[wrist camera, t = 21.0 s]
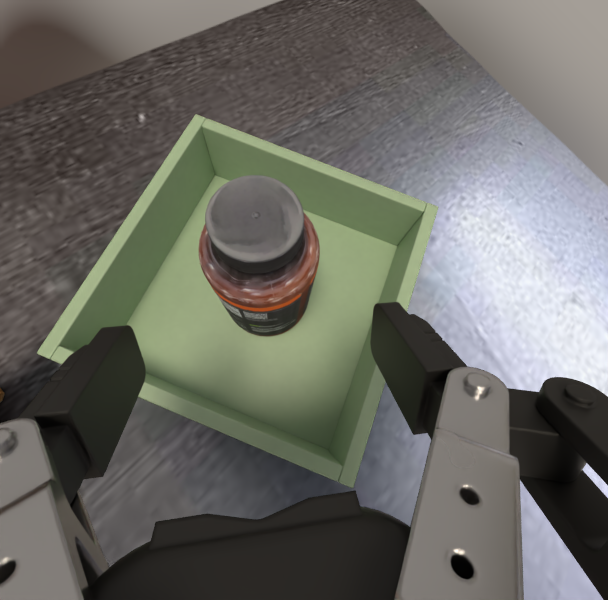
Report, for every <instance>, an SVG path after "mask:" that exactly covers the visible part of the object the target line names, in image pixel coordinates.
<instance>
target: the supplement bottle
mask: <svg viewBox="0 0 608 600" xmlns="http://www.w3.org/2000/svg"><path fill="white" fill-rule="evenodd" d="M198 250H199V260H200V265H201V268H202V271H203V273H204V275H205V277H206V279H207V281H208V282H209V283H210V285H211V287H212V289H213V290H214V292H215V293H216V295H217V296H218V298H219V299H220V301H221V302H222V304H223V305H224V307H225V309H226V310H227V312H228V313H229V315H230V316H231V318H232V319H233V320H234V322H235V323H236V324H237V325H238V326H239V327H241V328H242V329H243V330H245V331H247V332H248V333H251V334H254V335H258V336H267V337H268V336H276V335H279V334H283V333H285V332H287V331H288V330H290V329H291V328H293V327H294V326H295V325H296V324H297V323H298V322H299V321H300V319H301V318H302V316H303V315H304V313H305V311H306V309H307V305H308V302H309V298H310V294H311V291H312V287H313V283H314V280H315V276H316V273H317V268H318V264H319V257H320V245H319V239H318V235H317V232H316V230H315V228H314V225H313V224H312V222H311V221H310V219H309V217H308V216H307V215H306V214H305V213H304V212H303V208H302V205H301V203H300V201H299V199H298V197H297V195H296V194H295V193H294V192H293V191H292V190H291V189H290V188H289V187H288V186H287V185H285V184H284V183H282V182H280V181H279V180H277V179H274V178H271V177H267V176H263V175H248V176H242V177H238V178H236V179H233V180H231V181H229V182H227V183H225V184H224V185H223V186H221V187H220V188H219V189H218V190H217V191H216V192H215V194H214V195H213V196H212V197H211V199H210V201H209V203H208V205H207V209H206V212H205V225H204V227H203V230H202V232H201V236H200V239H199V249H198Z"/></svg>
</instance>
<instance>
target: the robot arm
mask: <svg viewBox="0 0 608 600" xmlns="http://www.w3.org/2000/svg"><path fill="white" fill-rule="evenodd" d="M370 345H371V352H372V356H373V358H374V360H375V362H376V364H377V366H378V368H379V370H380V372H381V374H382V376H383V377H384V379H385V381H386V383H387V385H388V387H389V389H390V391H391V393H392V395H393V397H394V398H395V400H396V402H397V404H398V406H399V408H400V410H401V412H402V414H403V416H404V418H405V419H406V421H407V423H408V425H409V427H410V429H411V431H412V433H413V435H415V434H422V433H428V435H429V436H430V438H431V443H430V447H429V451H428V456H427V460H426V464H425V468H424V472H423V476H422V480H421V485H420V489H419V493H418V497H417V501H416V505H415V509H414V513H413V517H412V521H411V526H410V527H409V526H408V525H406V524H405V523H404V522H402V521H400V520H398V519H396V518H395V517H393V516H391V515H388V514H386V513H383V512H381V511H378V510H374V509H371V508H367V507H360V505H359V501H358V498H357V494H356V491H350V492H344V493H337V494H331V495H324V496H318V497H312V498H308V499H305V500H303V501H301V502H299V503H296V504H294V505H292V506H290V507H288V508H285V509H283V510H281V511H279V512H276V513H274V514H272V515H270V516H267V517H265V518H263V519H258V520H253V519H245V518H237V517H229V516H221V515H213V514H202V515H196V516H190V517H183V518H177V519H170V520H164V521H158V522H156V523H155V527H154V531H153V535H152V538H151V541H150V542H148V543H146V544H144V545H142V546H140V547H138V548H137V549H135V550H133V551H131V552H130V553H128V554H127V555H125V556H124V557H122V558H121V559H120V560H118V561H117V562H116V563H114V564H113V565H112V566H111V567H109V565H108V563H107V561H106V559H105V557H104V555H103V552H102V550H101V547H100V544H99V542H98V539H97V536H96V534H95V531H94V528H93V526H92V523H91V520H90V518H89V515H88V512H87V510H86V507H85V504H84V502H83V499H82V496H81V495H80V493H79V491H78V489H79V487H80V485H81V483H82V481H83V479H89V478H96V477H103V476H104V473H105V471H106V469H107V466H108V464H109V462H110V460H111V457H112V455H113V453H114V450H115V448H116V446H117V443H118V441H119V439H120V437H121V434H122V432H123V430H124V427H125V425H126V423H127V421H128V418H129V416H130V414H131V411H132V409H133V407H134V405H135V402H136V400H137V398H138V395H139V393H140V391H141V389H142V386H143V384H144V381H145V376H146V369H145V363H144V360H143V357H142V354H141V351H140V348H139V345H138V342H137V339H136V336H135V333H134V331H133V329H132V327H131V326H129V325H125V326H114V327H103V328H101V329H100V330H99V332H98V333H97V334H96V335H95V337H94V338H93V339H92V341H91V342H90V343H89V344H88V345H84V346H82V347H81V348H80V349H78V350H77V351H75V352H74V353H73V354H71V355H70V356H69V357H68V358H67V359H66V360H65V361H64V363H63V364H62V365H61V366H60V367H59V371H56V372H55V374H54V375H53V376H52V377H51V378H50V382H47V383H46V384H45V386H44V387H43V388H42V389H41V391H40V392H39V393H38V394H37V395H36V397H35V398H34V399H33V400H32V402H31V403H30V404H29V405H28V406H27V408H26V409H25V410H24V411H23V412H22V414H21V415H20V416H19V417H18V419H13V420H9V421H6V422H3V423H0V600H524V593H523V563H522V533H521V504H520V480H521V482H522V483H523V484H524V486H525V487H526V489H527V490H528V492H529V493H530V495H531V496H532V497H533V499H534V500H535V502H536V503H537V505H538V506H539V507H540V509H541V510H542V512H543V513H544V515H545V516H546V517H547V519H548V520H549V522H550V523H551V525H552V526H553V528H554V529H555V530H556V532H557V533H558V535H559V536H560V538H561V539H562V540H563V542H564V543H565V545H566V546H567V548H568V549H569V550H570V552H571V553H572V555H573V556H574V558H575V559H576V561H577V562H578V563H579V565H580V566H581V568H582V569H583V571H584V572H585V573H586V575H587V576H588V578H589V579H590V581H591V582H592V583H593V585H594V586H595V588H596V589H597V591H598V592H599V594H600V595H601V596H602V598H603V599H604V600H608V498H607V497H606V496H605V495H604V494H603V493H602V491H601V490H600V489H599V488H598V487H597V486H596V485H595V484H594V483H593V481H592V480H591V479H590V478H589V477H588V476H587V475H586V474H585V473H584V471H583V470H582V469H583V468H584V466H585V464H586V463H588V464H589V466H590V467H591V468H592V469H593V470H594V471H595V472H596V473H597V474H598V475H599V476H600V477H601V478H602V479H603V481H604V482H605V483H606V484H607V485H608V397H607V396H606V395H605V394H603V393H602V392H600V391H599V390H597V389H596V388H594V387H592V386H590V385H588V384H585V383H583V382H580V381H577V380H573V379H569V378H562V377H554V378H549V379H547V380H546V381H545V382H544V383H543V385H542V387H541V389H540V392H533V391H525V390H516V389H509V388H507V387H506V386H505V384H504V383H503V382H502V381H501V380H500V379H499V378H497V377H496V376H494V375H493V374H491V373H489V372H486V371H484V370H481V369H478V368H473V367H467V366H466V364H465V363H464V362H463V361H462V360H461V359H460V358H459V357H458V356H457V354H456V353H455V352H454V351H453V350H452V349H451V348H450V347H449V346H448V344H447V343H446V342H445V341H442V338H441V337H440V336H439V334H438V333H435V330H434V329H433V328H432V327H431V326H430V325H429V323H428V322H427V321H425V320H423V319H421V318H420V317H418V316H416V315H414V314H411V315H409V314H408V313H407V312H406V310H405V309H404V308H403V307H402V306H401V304H400V303H399V302H387V303H377V304H375V306H374V309H373V319H372V329H371V340H370Z"/></svg>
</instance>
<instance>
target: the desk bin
mask: <svg viewBox="0 0 608 600" xmlns="http://www.w3.org/2000/svg"><path fill="white" fill-rule="evenodd" d="M248 175H263V176H267V177H271V178H274V179H277V180H279V181H280V182H282V183H284V184H285V185H287V186H288V187H289V188H290V189H291V190H292V191H293V192H294V193H295V194H296V195H297V197H298V199H299V201H300V203H301V205H302V208H303V212H304V213H305V214H306V215H307V216H308V217H309V219H310V221H311V222H312V224H313V225H314V228H315V230H316V232H317V235H318V239H319V245H320V257H319V264H318V268H317V273H316V276H315V280H314V283H313V287H312V291H311V294H310V298H309V302H308V305H307V309H306V311H305V313H304V315H303V316H302V318H301V319H300V321H299V322H298V323H297V324H296V325H295V326H294V327H293V328H291V329H290V330H288V331H287V332H285V333H283V334H279V335H276V336H268V337H267V336H258V335H254V334H251V333H248V332H247V331H245V330H243V329H242V328H241V327H239V326H238V325H237V324H236V323H235V322H234V320H233V319H232V318H231V316H230V315H229V313H228V312H227V310H226V309H225V307H224V305H223V304H222V302H221V301H220V299H219V298H218V296H217V295H216V293H215V292H214V290H213V289H212V287H211V285H210V283H209V282H208V281H207V279H206V277H205V275H204V273H203V271H202V268H201V265H200V260H199V250H198V249H199V239H200V236H201V232H202V230H203V227H204V225H205V212H206V209H207V205H208V203H209V201H210V199H211V197H212V196H213V195H214V194H215V192H216V191H217V190H218V189H219V188H220V187H221V186H223V185H224V184H225V183H227V182H229V181H231V180H233V179H236V178H238V177H242V176H248ZM437 210H438V207H437V206H435V205H432V204H430V203H426V202H424V201H421V200H419V199H416V198H413V197H411V196H408V195H405V194H403V193H400V192H398V191H395V190H392V189H390V188H387V187H385V186H382V185H379V184H377V183H374V182H372V181H369V180H366V179H364V178H361V177H358V176H356V175H353V174H351V173H348V172H345V171H343V170H340V169H338V168H335V167H332V166H330V165H327V164H325V163H322V162H319V161H317V160H314V159H311V158H309V157H306V156H304V155H301V154H298V153H296V152H293V151H291V150H288V149H285V148H283V147H280V146H278V145H275V144H272V143H270V142H267V141H264V140H262V139H259V138H257V137H254V136H251V135H249V134H246V133H244V132H241V131H238V130H236V129H233V128H231V127H228V126H225V125H223V124H220V123H218V122H215V121H212V120H210V119H206V118H205V117H202V116H199V115H197V114H196V115H195V116H194V118H193V119H192V121H191V122H190V124H189V125H188V127H187V128H186V130H185V131H184V133H183V134H182V136H181V137H180V139H179V140H178V142H177V143H176V145H175V146H174V148H173V149H172V151H171V152H170V154H169V155H168V157H167V158H166V160H165V161H164V163H163V164H162V166H161V167H160V169H159V170H158V172H157V173H156V175H155V176H154V178H153V179H152V181H151V182H150V184H149V185H148V187H147V188H146V190H145V191H144V193H143V194H142V196H141V197H140V199H139V200H138V202H137V203H136V205H135V206H134V208H133V209H132V211H131V212H130V214H129V215H128V217H127V218H126V220H125V221H124V223H123V224H122V226H121V227H120V229H119V230H118V232H117V233H116V235H115V236H114V238H113V239H112V241H111V242H110V244H109V245H108V247H107V248H106V250H105V251H104V253H103V254H102V256H101V257H100V259H99V260H98V262H97V263H96V265H95V266H94V268H93V269H92V271H91V272H90V274H89V275H88V277H87V278H86V280H85V281H84V283H83V284H82V286H81V287H80V289H79V290H78V292H77V293H76V295H75V296H74V298H73V299H72V301H71V302H70V304H69V305H68V307H67V308H66V310H65V311H64V313H63V314H62V316H61V317H60V319H59V320H58V322H57V323H56V325H55V326H54V328H53V329H52V331H51V332H50V334H49V335H48V337H47V338H46V340H45V341H44V343H43V344H42V346H41V347H40V349H39V350H38V352H37V354H38V355H41V356H43V357H45V358H48V359H51V360H52V361H55V362H57V363H59V364H63V363H64V361H65V360H66V359H67V358H68V357H69V356H70V355H71V354H73V353H74V352H75V351H77V350H78V349H80V348H81V347H82V346H84V345H88V344H89V343H90V342H91V341H92V339H93V338H94V337H95V335H96V334H97V333H98V332H99V330H100V329H101V328H103V327H114V326H125V325H129V326H131V327H132V329H133V331H134V333H135V336H136V339H137V342H138V345H139V348H140V351H141V354H142V357H143V360H144V363H145V369H146V376H145V381H144V384H143V386H142V389H141V391H140V393H139V395H138V397H139V398H142V399H144V400H146V401H149V402H151V403H153V404H156V405H158V406H160V407H163V408H165V409H167V410H170V411H172V412H174V413H177V414H179V415H182V416H184V417H186V418H189V419H191V420H193V421H196V422H198V423H200V424H203V425H205V426H207V427H210V428H212V429H214V430H217V431H219V432H221V433H224V434H226V435H228V436H231V437H233V438H236V439H238V440H240V441H243V442H245V443H247V444H250V445H252V446H254V447H257V448H259V449H261V450H264V451H266V452H268V453H271V454H273V455H275V456H278V457H280V458H282V459H285V460H287V461H290V462H292V463H294V464H297V465H299V466H301V467H304V468H306V469H308V470H311V471H313V472H315V473H318V474H320V475H322V476H325V477H327V478H329V479H332V480H334V481H338V482H339V483H341V484H343V485H346V486H348V487H350V488H353V487H354V484H355V480H356V477H357V474H358V470H359V467H360V464H361V461H362V457H363V454H364V451H365V447H366V444H367V441H368V438H369V434H370V431H371V428H372V424H373V421H374V418H375V415H376V411H377V408H378V405H379V401H380V398H381V395H382V391H383V388H384V385H385V382H386V381H385V379H384V377H383V376H382V374H381V372H380V370H379V368H378V366H377V364H376V362H375V360H374V358H373V356H372V352H371V345H370V340H371V329H372V319H373V309H374V306H375V304H377V303H387V302H399V303H400V304H401V306H402V307H403V308H404V309H405V310H406V312H407V309H408V306H409V303H410V299H411V296H412V293H413V289H414V286H415V283H416V279H417V276H418V273H419V270H420V266H421V263H422V260H423V256H424V253H425V250H426V247H427V243H428V240H429V237H430V233H431V230H432V227H433V223H434V220H435V217H436V214H437Z"/></svg>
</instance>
